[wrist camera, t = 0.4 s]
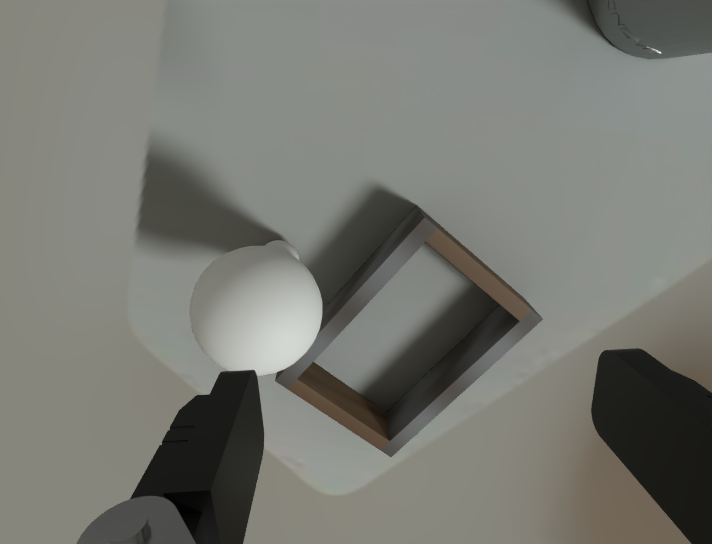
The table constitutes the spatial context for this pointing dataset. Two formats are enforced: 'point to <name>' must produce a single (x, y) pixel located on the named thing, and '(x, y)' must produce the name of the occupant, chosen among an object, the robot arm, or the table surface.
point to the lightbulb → (256, 308)
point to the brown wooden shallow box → (443, 378)
